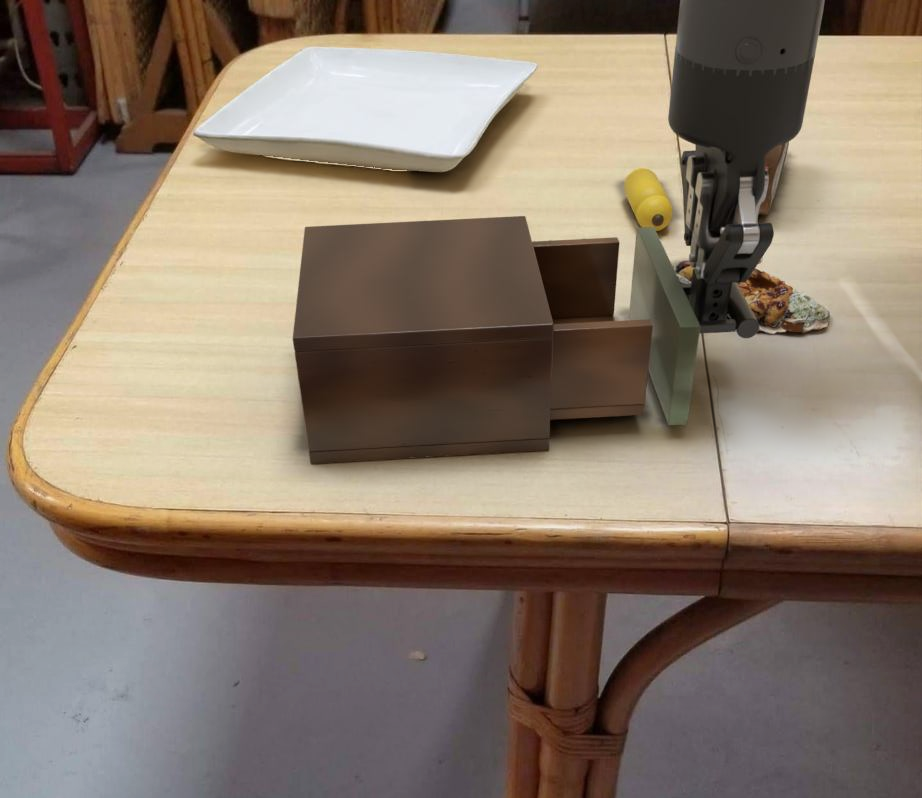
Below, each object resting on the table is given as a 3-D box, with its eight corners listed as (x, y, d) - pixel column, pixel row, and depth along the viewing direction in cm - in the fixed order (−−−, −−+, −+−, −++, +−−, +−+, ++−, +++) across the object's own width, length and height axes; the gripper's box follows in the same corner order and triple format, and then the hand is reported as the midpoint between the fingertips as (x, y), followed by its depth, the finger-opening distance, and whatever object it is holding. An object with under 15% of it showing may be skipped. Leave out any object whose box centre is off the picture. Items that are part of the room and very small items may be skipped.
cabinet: (523, 331, 77) (525, 215, 72) (549, 450, 66) (553, 324, 61) (319, 342, 77) (304, 226, 71) (310, 464, 66) (292, 338, 60)
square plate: (309, 77, 122) (304, 41, 120) (540, 96, 116) (541, 58, 113) (194, 165, 103) (186, 124, 100) (464, 194, 96) (463, 151, 94)
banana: (653, 195, 95) (656, 161, 93) (675, 238, 88) (679, 203, 86) (620, 196, 95) (622, 163, 93) (639, 240, 88) (642, 205, 86)
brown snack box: (756, 162, 100) (771, 68, 95) (790, 166, 99) (808, 71, 94) (731, 228, 90) (747, 126, 84) (770, 233, 89) (788, 130, 83)
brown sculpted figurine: (824, 343, 75) (834, 297, 73) (654, 319, 78) (659, 274, 76) (832, 297, 80) (842, 253, 78) (672, 276, 83) (677, 233, 81)
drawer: (712, 314, 77) (725, 222, 72) (765, 420, 67) (784, 321, 62) (456, 327, 76) (453, 236, 72) (469, 437, 66) (466, 338, 61)
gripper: (854, 78, 54) (792, 376, 65) (778, 7, 63) (736, 276, 75) (705, 85, 53) (669, 383, 65) (653, 12, 63) (630, 281, 75)
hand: (705, 325), depth 70 cm, fingers closed
